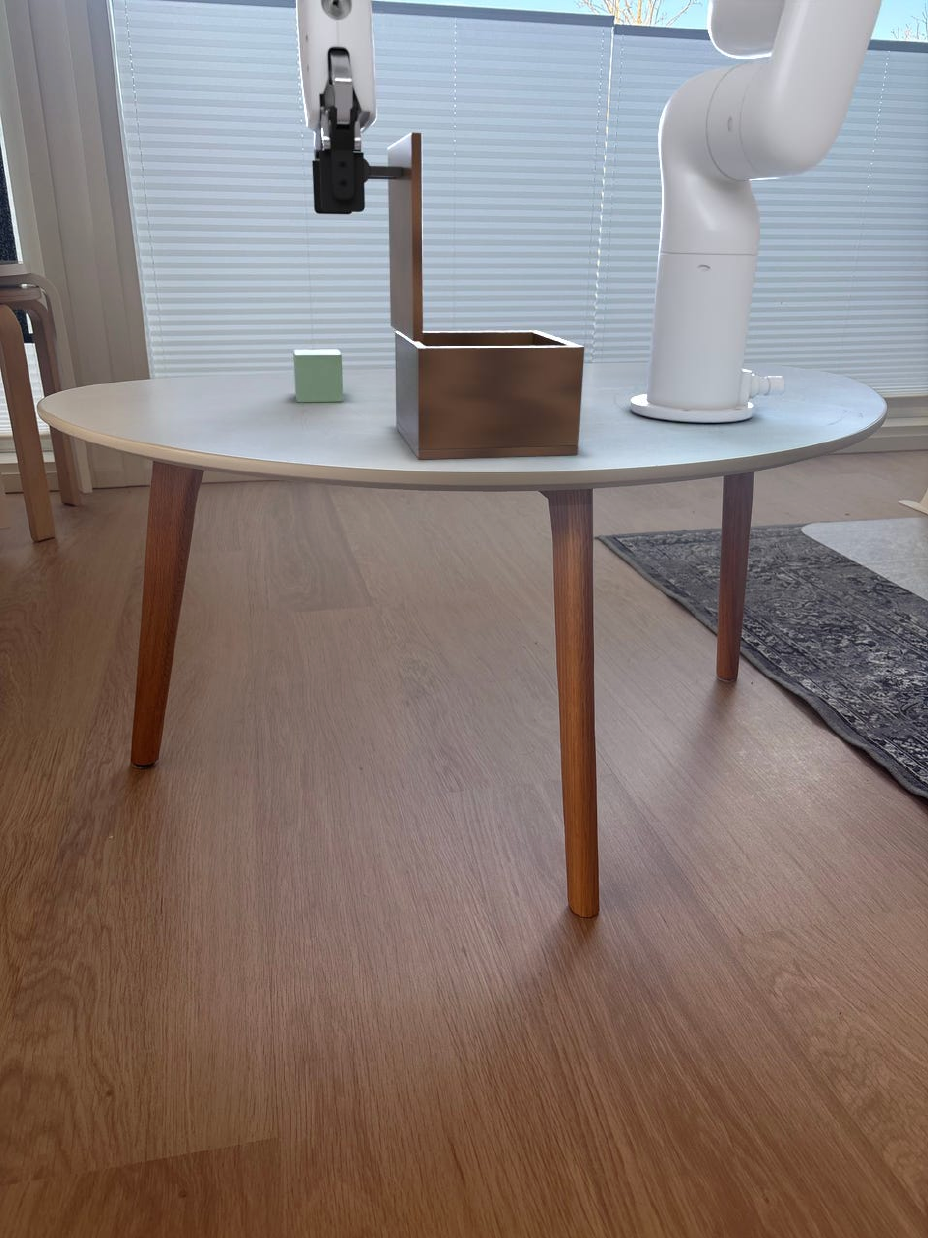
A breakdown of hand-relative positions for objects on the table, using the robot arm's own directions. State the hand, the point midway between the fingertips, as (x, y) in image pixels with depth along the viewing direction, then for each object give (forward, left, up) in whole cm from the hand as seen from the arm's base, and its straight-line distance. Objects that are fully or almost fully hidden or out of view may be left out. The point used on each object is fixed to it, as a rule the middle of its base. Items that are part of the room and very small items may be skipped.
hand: (338, 212), depth 74 cm
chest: (-12, 0, -19) cm, 22 cm away
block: (+1, -25, -19) cm, 31 cm away
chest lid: (-6, 0, -2) cm, 6 cm away
